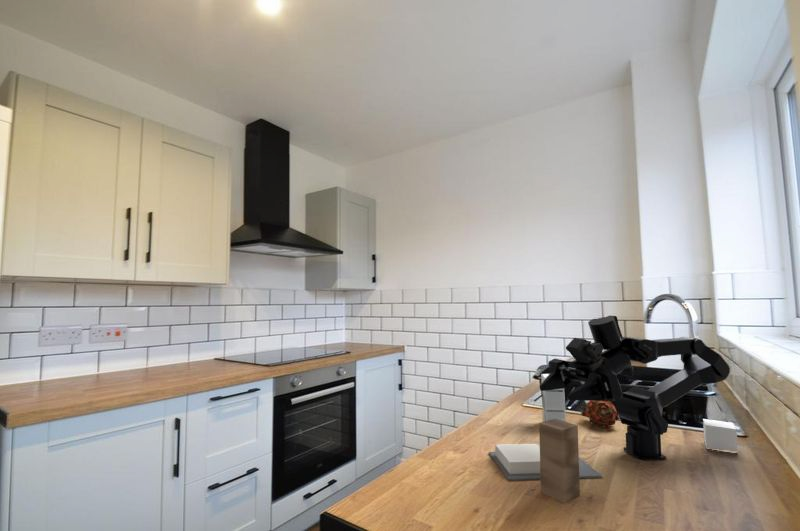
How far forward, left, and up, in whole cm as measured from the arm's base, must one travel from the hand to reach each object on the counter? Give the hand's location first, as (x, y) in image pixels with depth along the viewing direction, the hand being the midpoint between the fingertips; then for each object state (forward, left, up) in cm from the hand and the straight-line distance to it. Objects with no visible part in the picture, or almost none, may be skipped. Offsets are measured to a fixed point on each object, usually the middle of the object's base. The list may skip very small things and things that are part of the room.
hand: (553, 393), depth 88 cm
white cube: (-47, -9, -17) cm, 50 cm away
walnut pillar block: (+4, +11, -16) cm, 20 cm away
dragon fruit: (-27, -28, -16) cm, 42 cm away
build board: (+2, -2, -16) cm, 16 cm away
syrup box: (-13, -28, -16) cm, 35 cm away
